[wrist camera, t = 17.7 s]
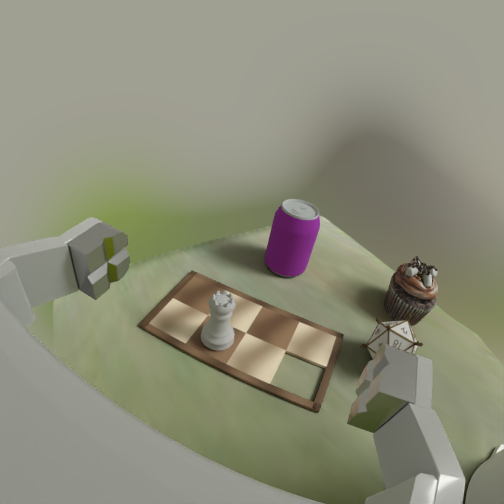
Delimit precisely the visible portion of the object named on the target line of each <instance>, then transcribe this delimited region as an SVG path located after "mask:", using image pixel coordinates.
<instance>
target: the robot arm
mask: <svg viewBox="0 0 504 504" xmlns="http://www.w3.org/2000/svg"><path fill="white" fill-rule="evenodd" d="M127 245H128V238H127V235H126V234H125V233H124V232H122V231H120V230H118V229H116V228H114V227H112V226H110V225H108V224H106V223H104V222H102V221H100V220H98V219H96V218H88V219H86V220H85V221H83V222H81V223H80V224H78V225H76V226H75V227H73V228H72V229H70V230H68V231H67V232H65V233H64V234H62V235H60V236H59V237H57V238H56V237H49V238H44V239H39V240H34V241H30V242H25V243H20V244H15V245H11V246H7V247H2V248H0V504H325V503H321V502H318V501H314V500H311V499H308V498H304V497H301V496H298V495H295V494H292V493H289V492H286V491H284V490H281V489H278V488H275V487H273V486H270V485H267V484H265V483H262V482H260V481H257V480H255V479H252V478H250V477H247V476H245V475H243V474H240V473H238V472H236V471H234V470H231V469H229V468H227V467H225V466H223V465H220V464H218V463H216V462H214V461H212V460H210V459H208V458H206V457H204V456H202V455H200V454H198V453H196V452H194V451H193V450H191V449H189V448H187V447H185V446H183V445H181V444H180V443H178V442H176V441H174V440H172V439H171V438H169V437H167V436H166V435H164V434H162V433H161V432H159V431H157V430H156V429H154V428H152V427H151V426H149V425H147V424H146V423H144V422H143V421H141V420H140V419H138V418H137V417H135V416H133V415H132V414H130V413H129V412H127V411H126V410H125V409H123V408H122V407H120V406H119V405H117V404H116V403H114V402H113V401H112V400H110V399H109V398H108V397H106V396H105V395H103V394H102V393H101V392H99V391H98V390H97V389H95V388H94V387H93V386H91V385H90V384H89V383H88V382H86V381H85V380H84V379H83V378H81V377H80V376H79V375H78V374H76V373H75V372H74V371H73V370H72V369H70V368H69V367H68V366H67V365H66V364H64V363H63V362H62V361H61V360H60V359H59V358H57V357H56V356H55V355H54V354H53V353H52V352H51V351H50V350H49V349H47V348H46V347H45V346H44V345H43V344H42V343H41V342H40V341H39V340H38V339H37V338H36V337H35V336H34V335H33V334H32V333H31V332H29V330H28V329H27V327H29V326H30V325H31V324H32V323H33V322H34V321H35V318H36V317H35V315H34V312H33V310H32V307H35V306H38V305H40V304H43V303H46V302H49V301H52V300H54V299H57V298H60V297H63V296H65V295H68V294H71V293H74V292H76V291H79V290H81V291H82V292H84V293H85V294H87V295H88V296H90V297H92V298H93V299H95V300H97V299H98V298H99V297H100V296H101V295H102V294H104V293H105V292H106V291H107V290H108V289H109V288H110V283H112V282H116V281H119V280H120V279H121V278H122V277H123V276H124V275H125V273H126V272H127V270H128V268H129V263H130V259H129V254H128V252H127V250H126V247H127ZM356 393H357V396H358V398H357V399H356V400H355V401H354V403H353V404H352V407H351V411H350V414H349V418H348V422H347V424H349V425H352V426H355V427H358V428H360V429H363V430H366V431H369V432H372V433H374V434H373V437H374V441H375V445H376V449H377V453H378V457H379V462H380V466H381V470H382V474H383V479H384V483H385V488H386V490H384V491H381V492H379V493H376V494H374V495H371V496H370V497H368V498H366V500H365V503H364V504H462V502H463V495H464V488H465V477H464V474H463V472H462V469H461V467H460V464H459V462H458V460H457V457H456V455H455V453H454V450H453V448H452V446H451V444H450V441H449V439H448V437H447V435H446V432H445V430H444V428H443V426H442V424H441V422H440V420H439V417H438V415H437V413H436V411H435V410H432V409H431V401H432V361H431V360H430V359H427V358H424V357H421V356H419V355H415V354H413V353H410V352H407V351H404V350H401V349H399V348H396V347H393V346H390V345H388V344H385V343H383V344H382V345H381V346H380V347H379V349H378V350H377V351H376V356H375V359H374V360H371V361H369V362H368V364H367V365H366V367H365V368H364V370H363V372H362V374H361V376H360V378H359V381H358V384H357V388H356ZM465 504H504V444H501V445H499V446H497V447H496V448H495V450H494V451H493V453H492V455H491V457H490V458H489V459H488V460H487V461H485V462H484V463H482V464H481V465H480V466H479V467H478V468H477V470H476V471H475V473H474V474H473V476H472V478H471V480H470V483H469V486H468V489H467V493H466V500H465Z"/></svg>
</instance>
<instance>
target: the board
mask: <svg viewBox="0 0 504 504" xmlns="http://www.w3.org/2000/svg"><path fill="white" fill-rule="evenodd" d="M218 290H219V291H220V293H223V290H226V291H227V294H228V295H229V294H230V293H231V294H232V295H233V298H234V300H235V302H236V307H235V309H234V310H233V311H232V312H233V314H232V316H231V317H230V324H231V326H232V327H233V330H234V334H235V335H234V342H233V344H232V345H231V346H230V347H229V348H227V349H225V350H219V351H216V350H212V349H210V348H208V347H207V346H205V345H204V343H203V342H202V340H201V333H202V332H201V331H202V329H203V326H204V325H205V324H206V323H207V322H208V321H209V319H210V316H211V315H210V312H209V310H210V307H209V303H208V301H209V299H210V297H212V295H213V294H215V292H216V291H218ZM139 327H140V328H142V329H144V330H145V331H147V332H149V333H151V334H152V335H154V336H156V337H158V338H159V339H161V340H163V341H165V342H166V343H168V344H170V345H172V346H174V347H175V348H177V349H179V350H181V351H183V352H185V353H187V354H189V355H190V356H192V357H194V358H196V359H198V360H200V361H202V362H204V363H206V364H208V365H210V366H212V367H214V368H216V369H218V370H220V371H222V372H224V373H226V374H228V375H230V376H232V377H234V378H237V379H239V380H241V381H243V382H245V383H247V384H250V385H252V386H254V387H256V388H258V389H261V390H263V391H265V392H268V393H270V394H272V395H275V396H277V397H279V398H282V399H284V400H287V401H289V402H291V403H294V404H296V405H299V406H301V407H304V408H307V409H309V410H312V411H314V412H317V413H318V412H319V410H320V407H321V405H322V402H323V399H324V396H325V393H326V390H327V387H328V384H329V381H330V378H331V375H332V372H333V368H334V365H335V362H336V359H337V355H338V352H339V349H340V345H341V342H342V338H343V334H341V333H338V332H336V331H333V330H331V329H328V328H326V327H323V326H321V325H318V324H316V323H313V322H311V321H308V320H306V319H304V318H301V317H299V316H296V315H294V314H291V313H289V312H287V311H284V310H282V309H279V308H277V307H275V306H272V305H270V304H268V303H265V302H263V301H261V300H258V299H256V298H254V297H251V296H249V295H247V294H244V293H242V292H240V291H237V290H235V289H233V288H230V287H228V286H226V285H224V284H221V283H219V282H217V281H215V280H212V279H210V278H208V277H206V276H203V275H201V274H199V273H197V272H195V271H191V272H190V273H189V274H188V275H187V276H186V277H185V278H184V279H183V280H182V281H181V282H180V283H179V284H178V285H177V286H176V287H175V288H174V289H173V290H172V291H171V292H170V293H169V294H168V295H167V296H166V297H165V298H164V299H163V300H162V301H161V303H160V304H159V305H158V306H157V307H156V308H155V309H154V310H153V311H152V312H151V313H150V314H149V315H148V316H147V317H146V318H145V319H144V320H143V321H142V322H141V323H140V324H139ZM285 353H288V354H290V355H292V356H295V357H297V358H300V359H302V360H304V361H307V362H309V363H312V364H314V365H317V366H319V367H322V368H325V371H324V374H323V377H322V380H321V383H320V386H319V388H318V391H317V394H316V397H315V399H314V402H313V401H310V400H308V399H305V398H303V397H300V396H298V395H295V394H293V393H290V392H288V391H285V390H283V389H281V388H278V387H276V386H274V385H271V384H270V383H271V381H272V379H273V377H274V375H275V373H276V371H277V369H278V367H279V365H280V362H281V360H282V358H283V356H284V354H285Z"/></svg>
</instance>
